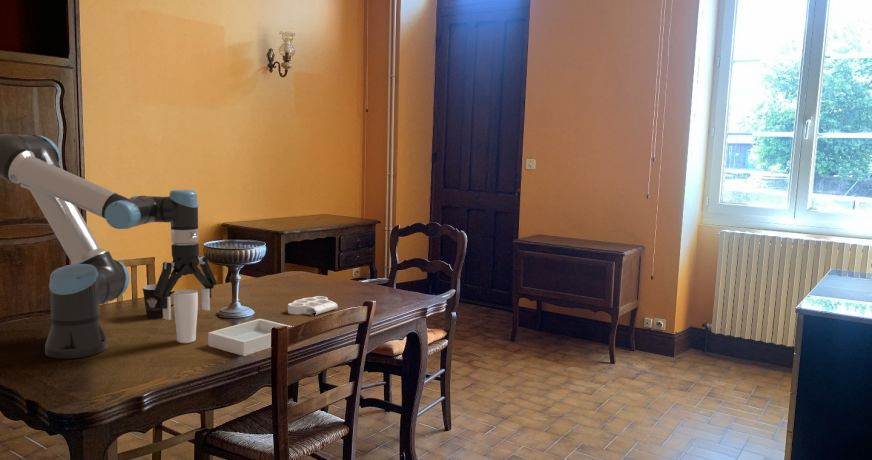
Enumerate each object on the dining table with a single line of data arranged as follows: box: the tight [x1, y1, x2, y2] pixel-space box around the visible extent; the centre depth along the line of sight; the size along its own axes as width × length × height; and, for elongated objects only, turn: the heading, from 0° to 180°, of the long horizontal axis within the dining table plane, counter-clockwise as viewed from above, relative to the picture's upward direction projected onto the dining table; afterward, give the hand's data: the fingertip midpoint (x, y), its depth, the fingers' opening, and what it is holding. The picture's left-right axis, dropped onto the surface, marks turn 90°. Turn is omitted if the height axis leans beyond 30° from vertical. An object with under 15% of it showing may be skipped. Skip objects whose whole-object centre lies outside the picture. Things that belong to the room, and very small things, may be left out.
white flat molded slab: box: [287, 295, 338, 316], centre depth 240 cm, size 3×18×15 cm
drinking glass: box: [173, 289, 199, 344], centre depth 198 cm, size 7×7×15 cm
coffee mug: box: [142, 283, 175, 320], centre depth 223 cm, size 12×9×10 cm
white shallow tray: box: [207, 318, 292, 357], centre depth 199 cm, size 20×15×4 cm
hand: (187, 314), depth 198 cm, fingers open, 13 cm apart
